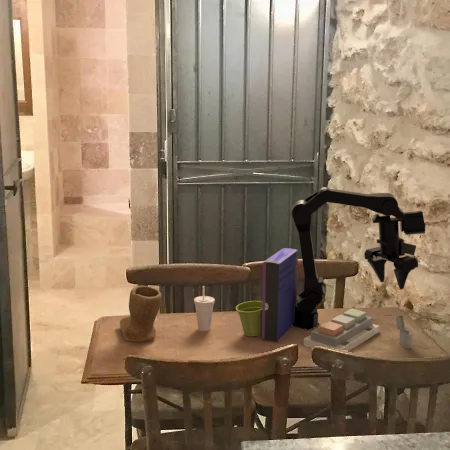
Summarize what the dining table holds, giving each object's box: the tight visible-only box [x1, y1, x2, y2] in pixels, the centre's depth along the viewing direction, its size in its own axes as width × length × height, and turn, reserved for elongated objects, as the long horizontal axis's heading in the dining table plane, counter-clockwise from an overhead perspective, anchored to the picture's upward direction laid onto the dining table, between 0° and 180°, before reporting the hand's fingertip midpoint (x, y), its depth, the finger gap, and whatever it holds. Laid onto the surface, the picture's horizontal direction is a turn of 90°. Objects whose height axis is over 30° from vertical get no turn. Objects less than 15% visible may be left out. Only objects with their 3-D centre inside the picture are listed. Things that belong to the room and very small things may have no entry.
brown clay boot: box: [119, 285, 163, 343], centre depth 198 cm, size 15×12×15 cm
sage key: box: [342, 308, 367, 323], centre depth 202 cm, size 5×5×2 cm
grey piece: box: [303, 315, 380, 352], centre depth 198 cm, size 12×24×4 cm, turn 140°
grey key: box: [331, 314, 355, 330], centre depth 197 cm, size 5×5×2 cm
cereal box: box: [261, 247, 299, 343], centre depth 200 cm, size 17×5×24 cm, turn 156°
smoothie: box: [193, 285, 216, 332], centre depth 203 cm, size 6×6×14 cm
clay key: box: [318, 320, 343, 337], centre depth 192 cm, size 5×5×2 cm
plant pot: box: [235, 300, 263, 337], centre depth 200 cm, size 9×9×9 cm
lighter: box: [395, 314, 413, 350], centre depth 194 cm, size 7×2×8 cm, turn 15°
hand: (391, 285), depth 201 cm, fingers open, 9 cm apart
